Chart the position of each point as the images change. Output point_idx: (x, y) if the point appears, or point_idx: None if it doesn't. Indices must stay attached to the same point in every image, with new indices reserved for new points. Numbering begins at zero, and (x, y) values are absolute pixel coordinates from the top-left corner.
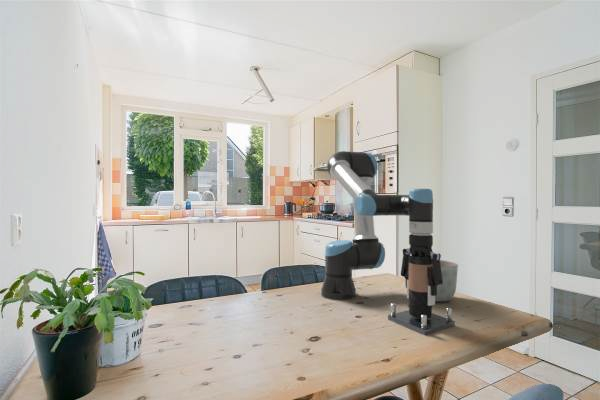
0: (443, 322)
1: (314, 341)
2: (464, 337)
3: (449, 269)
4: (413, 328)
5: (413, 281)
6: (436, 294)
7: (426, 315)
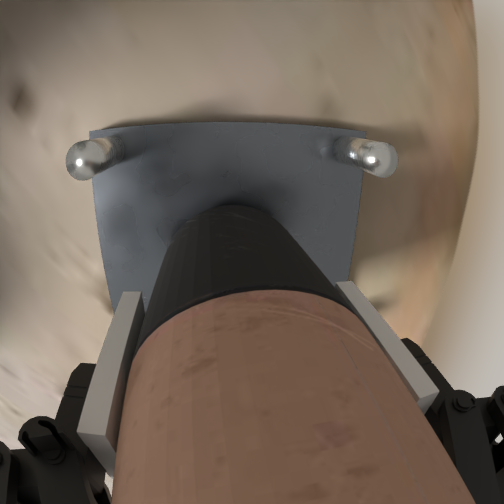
0: (343, 204)
1: None
2: (426, 222)
3: None
4: None
5: None
6: (413, 345)
7: None
